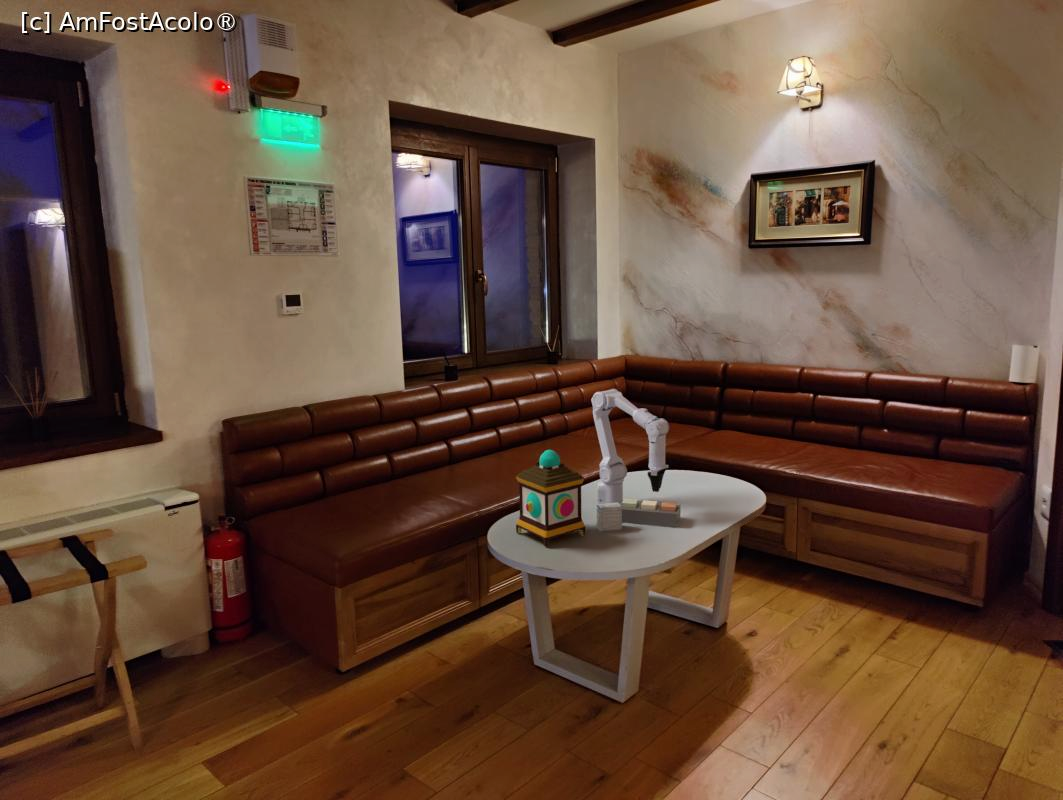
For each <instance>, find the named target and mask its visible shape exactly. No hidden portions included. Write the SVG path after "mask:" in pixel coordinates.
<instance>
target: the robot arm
mask: <svg viewBox="0 0 1063 800" xmlns="http://www.w3.org/2000/svg"><path fill="white" fill-rule="evenodd" d="M590 401H591V404H592V415H593V416H592V417H593V421H594V426H595V430H596V433H597V439H598V443H599V446H600V451H601V455H602V460H601V462H599V465H598V466H599V478H600V480H599V481H598V484H597V504H605V503H619V504H621V502H622V501H623V500H624V497H623V495H624V494H623V493H624V492H623V491H624V489H623V488H624V484H623V483H624V481H625V478H626V477H627V474H628V469H627V467H626V465H625V464H624V460H623V458H622V457H620V456H619V455H618V454H617V453H618V452H617V449H616V448H617V447H616V444H615V441H614V437H613V432H612V427H611V422H610V419H609V414H610V413H611V411H612V410H614V409H615V407H616V408H618V409H619V410H622V411H623V412H625V413H627V414H628V415H630V416H631V417H632V419H633V421H634V423H636V424H637V425H638V426H639V427H641V428H643V429H644V430H645V432H646V434H647V436H648V441H649V443H648V449H649V450H648V464H647V465H648V469H649V470H650V471H647V477H648V478H649V481H650V485H651V486H650V487H651V489H652V492H656V493H659V491H660V489H661V488H662V483H663V479H664V475H665V473H666V470H667V469H668V468H669V464H666V436H667V434H668V432H669V431H670V425H669V422H668V421H667V420H666V419H665V418H661V417H660V418H658V416H656V415H654V414H652V413H650V411H648V409H647V408H642V407H641V408H638V407H637V406H635V405H634V404H633V403H631V401H629V400H628V399H627V398H626V397H624V396H623V393H622V392H621V391H619V390H617V388H612V389H611V388H610V389H608V390H603V391H596V392H595V393H594V394H593V396H592V397H591V399H590Z"/></svg>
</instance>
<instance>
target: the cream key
mask: <svg viewBox="0 0 1063 800" xmlns="http://www.w3.org/2000/svg"><path fill="white" fill-rule="evenodd" d="M641 502H642V504H641V509H648V510H656V509H657V503H658V501H657V500H647V499H646V500H645V499H643V500H642V501H641Z"/></svg>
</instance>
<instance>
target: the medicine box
mask: <svg viewBox="0 0 1063 800" xmlns="http://www.w3.org/2000/svg"><path fill="white" fill-rule="evenodd" d="M622 526H623V525H622V506H621V505H620V504H619V503H605V504H598V503H597V504H596V528H597V529H598V531H599V532H607V531H617V530H623V527H622Z"/></svg>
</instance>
